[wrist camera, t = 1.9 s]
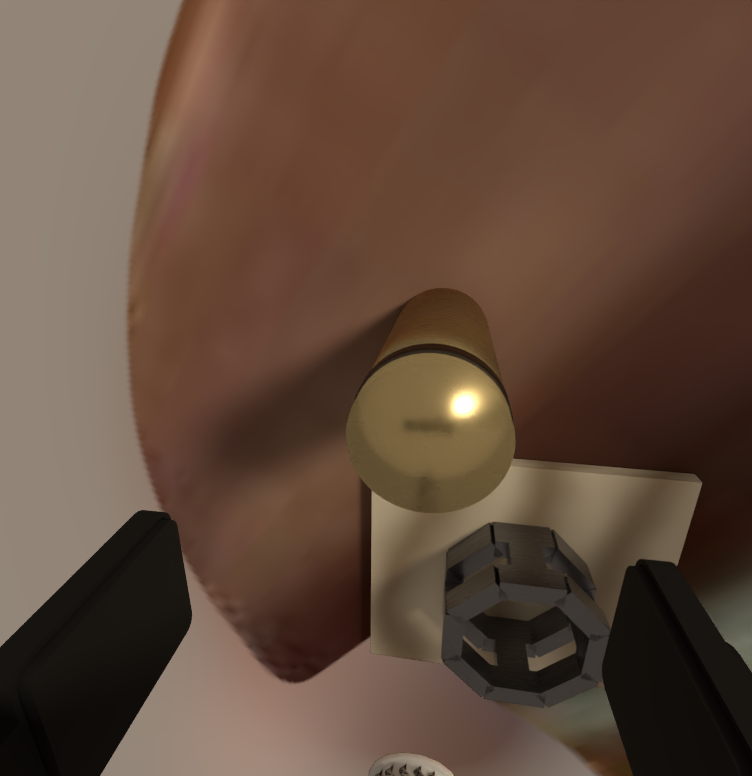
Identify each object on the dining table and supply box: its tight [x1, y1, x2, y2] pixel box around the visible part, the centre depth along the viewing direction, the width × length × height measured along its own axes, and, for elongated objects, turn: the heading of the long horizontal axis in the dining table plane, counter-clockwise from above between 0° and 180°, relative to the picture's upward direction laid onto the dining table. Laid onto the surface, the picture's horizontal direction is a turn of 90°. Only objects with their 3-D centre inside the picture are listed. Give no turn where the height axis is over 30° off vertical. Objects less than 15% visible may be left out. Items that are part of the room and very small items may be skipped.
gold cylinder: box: [346, 288, 515, 513], centre depth 22 cm, size 6×6×14 cm
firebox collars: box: [441, 522, 611, 708], centre depth 31 cm, size 9×9×6 cm
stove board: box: [371, 459, 702, 688], centre depth 34 cm, size 20×18×1 cm
